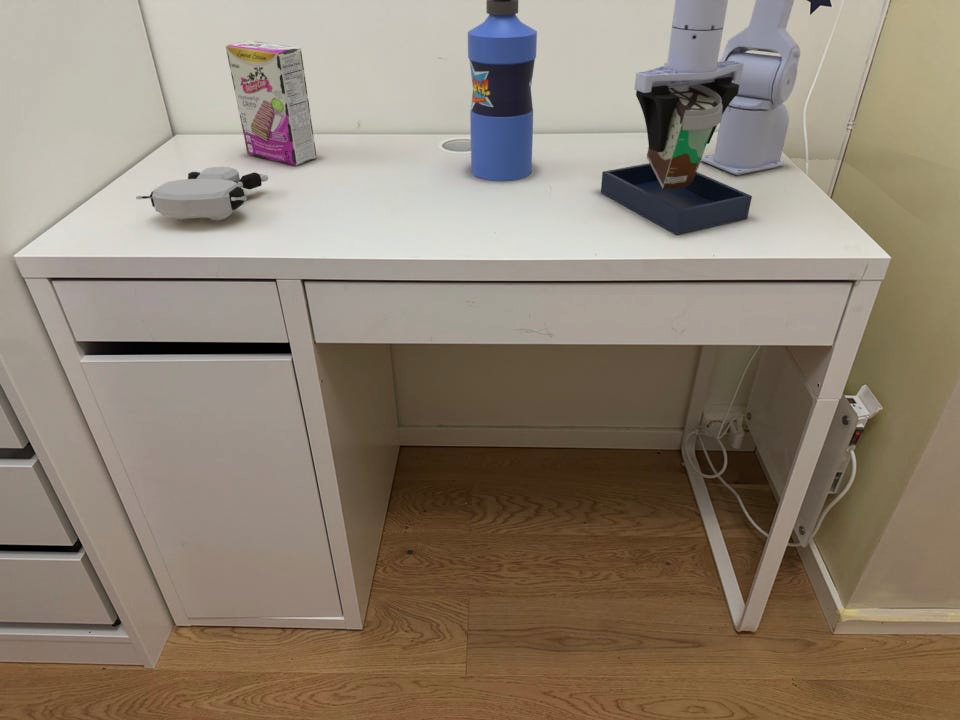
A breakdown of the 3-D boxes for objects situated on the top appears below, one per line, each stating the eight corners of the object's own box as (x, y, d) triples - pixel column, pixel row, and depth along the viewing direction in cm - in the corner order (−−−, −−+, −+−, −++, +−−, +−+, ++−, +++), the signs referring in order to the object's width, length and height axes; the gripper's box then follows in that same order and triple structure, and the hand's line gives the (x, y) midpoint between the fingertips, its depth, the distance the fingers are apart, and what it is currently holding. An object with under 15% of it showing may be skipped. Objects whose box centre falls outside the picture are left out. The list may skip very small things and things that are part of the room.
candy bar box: (245, 156, 110) (222, 45, 101) (268, 147, 114) (249, 39, 105) (295, 167, 105) (277, 51, 96) (318, 158, 109) (302, 46, 100)
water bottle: (514, 157, 108) (517, -24, 94) (544, 175, 101) (552, -19, 87) (460, 166, 105) (455, -21, 91) (487, 185, 98) (485, -14, 84)
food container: (715, 197, 84) (740, 115, 77) (665, 194, 83) (687, 112, 77) (688, 154, 93) (709, 78, 87) (644, 152, 93) (661, 75, 86)
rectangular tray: (665, 180, 99) (668, 159, 97) (747, 218, 87) (752, 195, 85) (600, 192, 95) (602, 171, 93) (676, 235, 83) (680, 211, 81)
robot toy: (192, 194, 98) (140, 228, 85) (186, 162, 96) (131, 192, 83) (276, 195, 98) (236, 230, 85) (271, 163, 95) (230, 194, 82)
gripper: (722, 17, 85) (703, 130, 92) (624, 27, 79) (613, 145, 87) (764, 25, 79) (741, 144, 87) (663, 35, 74) (647, 160, 82)
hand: (679, 145), depth 87 cm, fingers closed on food container, 7 cm apart
